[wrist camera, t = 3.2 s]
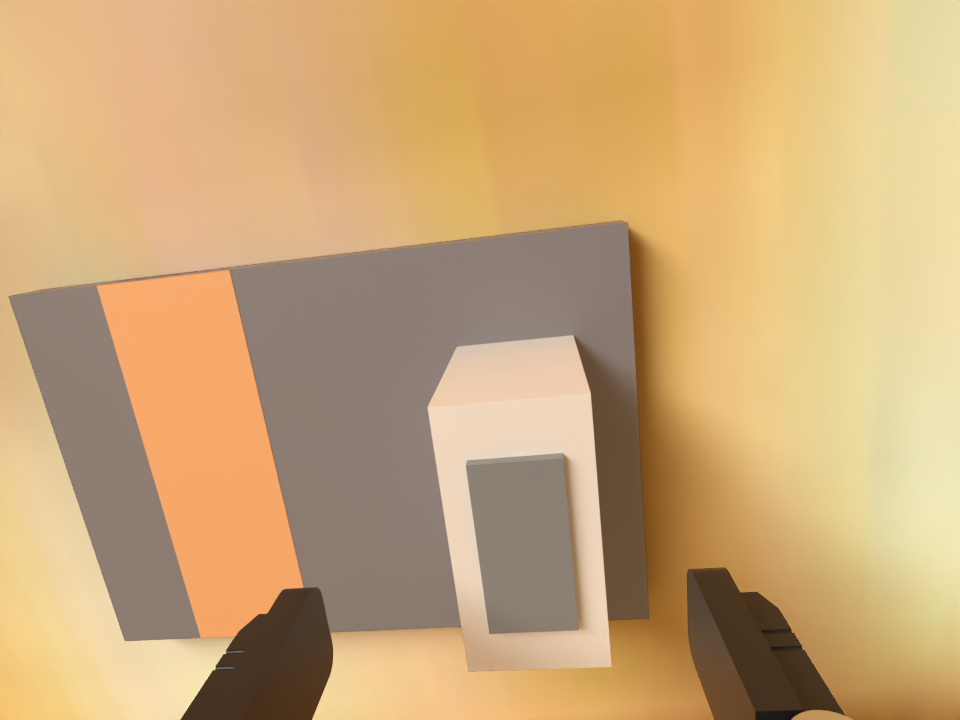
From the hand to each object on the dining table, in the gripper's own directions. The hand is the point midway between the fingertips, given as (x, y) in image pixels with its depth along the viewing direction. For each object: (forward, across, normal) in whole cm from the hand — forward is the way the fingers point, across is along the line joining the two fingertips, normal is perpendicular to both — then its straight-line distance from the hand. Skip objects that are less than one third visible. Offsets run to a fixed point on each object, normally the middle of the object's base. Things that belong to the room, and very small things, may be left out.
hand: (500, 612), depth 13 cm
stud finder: (+9, -1, 0) cm, 9 cm away
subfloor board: (+10, +6, 0) cm, 12 cm away
